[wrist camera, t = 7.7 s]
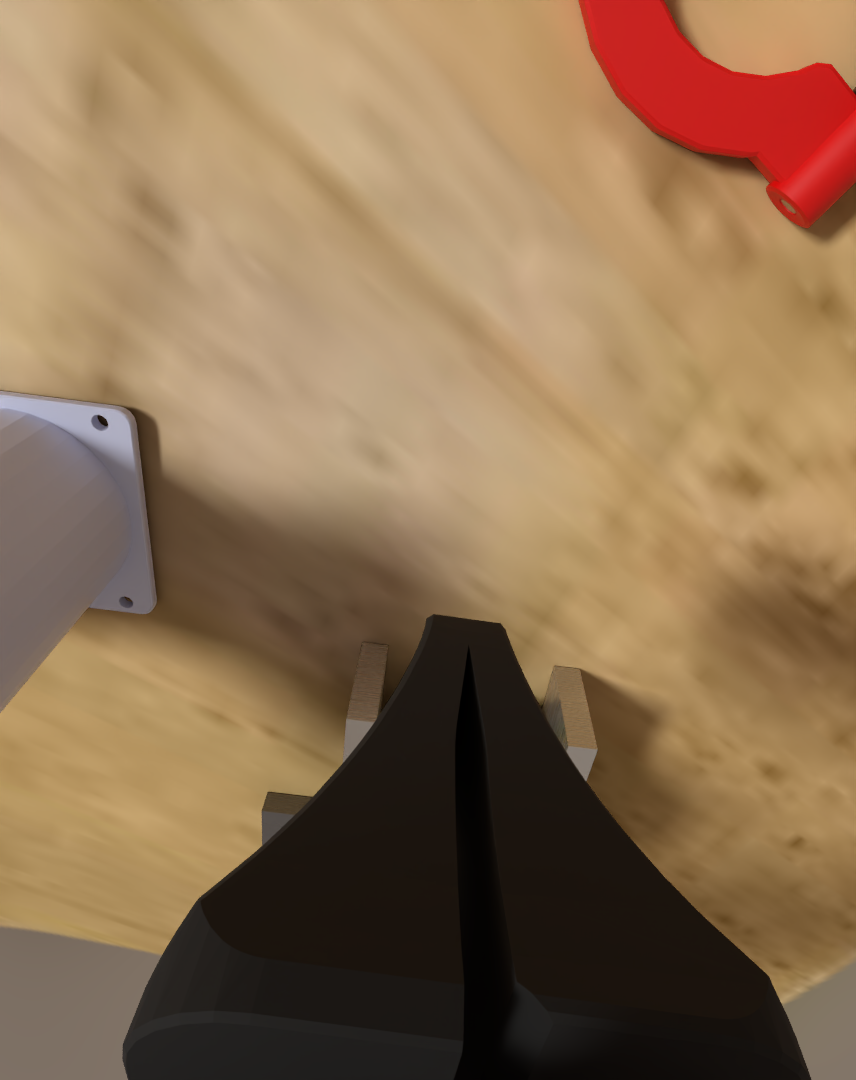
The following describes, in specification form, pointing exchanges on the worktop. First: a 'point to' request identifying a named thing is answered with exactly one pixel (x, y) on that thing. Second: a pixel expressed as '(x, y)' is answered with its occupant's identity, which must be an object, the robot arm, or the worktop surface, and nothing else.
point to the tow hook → (730, 105)
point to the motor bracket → (560, 709)
